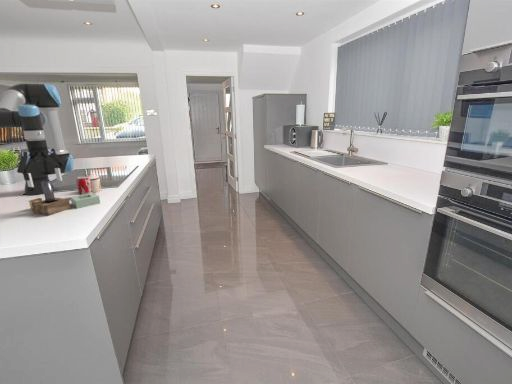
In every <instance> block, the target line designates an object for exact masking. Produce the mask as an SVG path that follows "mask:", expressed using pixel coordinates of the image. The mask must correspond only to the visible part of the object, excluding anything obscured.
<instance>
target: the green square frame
mask: <svg viewBox="0 0 512 384" xmlns="http://www.w3.org/2000/svg"><path fill="white" fill-rule="evenodd" d="M70 204H71V205H72V206H73V207H74V208H75V209H82V208H87V207H89V206H94V205H98V204H101V199H100V196H99V195H97V194H95V193H89V194H83V195H79V194H78V195H74V196H70Z"/></svg>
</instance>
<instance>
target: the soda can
mask: <svg viewBox="0 0 512 384" xmlns="http://www.w3.org/2000/svg"><path fill="white" fill-rule="evenodd" d="M75 183H76V187H77V193H78V195H83V194H89V193H93V191H92V186H91V181H90V179H89V178H88V175H84V176H83V175H81V176H77V177H76V182H75Z"/></svg>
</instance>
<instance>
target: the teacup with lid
mask: <svg viewBox="0 0 512 384" xmlns="http://www.w3.org/2000/svg"><path fill="white" fill-rule="evenodd" d="M87 176H88V178H89V179H90V181H91V186H92V191H93V193H94V194H95V193H99V192H101V191H102V185H101V179H100V178H101V177H100V176H99V175H96V174H93V173H92V172H90V173H88V175H87Z"/></svg>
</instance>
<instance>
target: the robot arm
mask: <svg viewBox="0 0 512 384" xmlns="http://www.w3.org/2000/svg"><path fill="white" fill-rule="evenodd" d="M61 105H62V100H61V97H60V93H59V91H58V89H57V87H56V86H55V85H54V84H48V83H19V84H13V85H12V86H10V87H8V88H6V89H5V90H4V92H3V93H2V99H1V101H0V129H2V128H3V129H4V128H5V129H6V128H22V132H23V136H24V139H25V144H26V148H27V150H28V151H21V152H20V161H19V164H18V166H17V167H18V168H17V170H16V172H17V173H19V174H22V175H23V179H24V181H25V184H24V190H23V191H24V194H25V195H27V196H37V195H44V192H43V188H42V183H41V182H45V181H51V180H50V177H49V175H55V176H56V177H55V178H56V180H57V181H60V182H62V181H63V177H62V174H68V173H69V174H70V173H72V172H73V170H74V157H73V154H70V152H69V151H68V150H67V149H66V146H65V141H64V137H63V132H62V127H61V123H60V118H59V113H58V111H59V109H60V106H61ZM51 184H52V188H53V192H54V191H55V190H56V189H55V186H54V184H53V183H52V182H51Z"/></svg>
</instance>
